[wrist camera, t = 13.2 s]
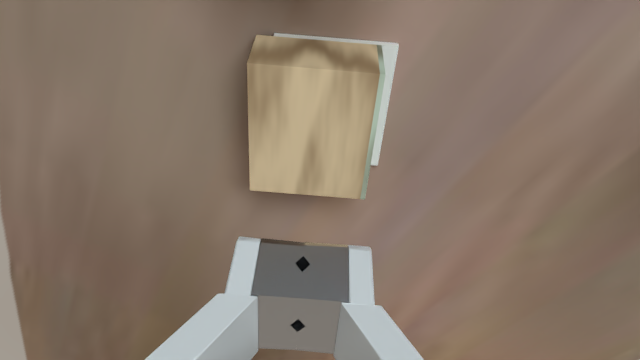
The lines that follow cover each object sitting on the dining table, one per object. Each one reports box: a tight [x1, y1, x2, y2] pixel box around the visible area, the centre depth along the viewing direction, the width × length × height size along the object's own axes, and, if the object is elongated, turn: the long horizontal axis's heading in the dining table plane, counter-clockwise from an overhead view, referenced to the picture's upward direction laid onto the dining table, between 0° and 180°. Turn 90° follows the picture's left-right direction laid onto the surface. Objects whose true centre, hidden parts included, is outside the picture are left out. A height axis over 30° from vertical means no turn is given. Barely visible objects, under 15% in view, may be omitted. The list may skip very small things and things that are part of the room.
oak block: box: [247, 35, 386, 199], centre depth 42 cm, size 5×12×10 cm
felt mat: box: [274, 33, 399, 166], centre depth 44 cm, size 10×12×1 cm
